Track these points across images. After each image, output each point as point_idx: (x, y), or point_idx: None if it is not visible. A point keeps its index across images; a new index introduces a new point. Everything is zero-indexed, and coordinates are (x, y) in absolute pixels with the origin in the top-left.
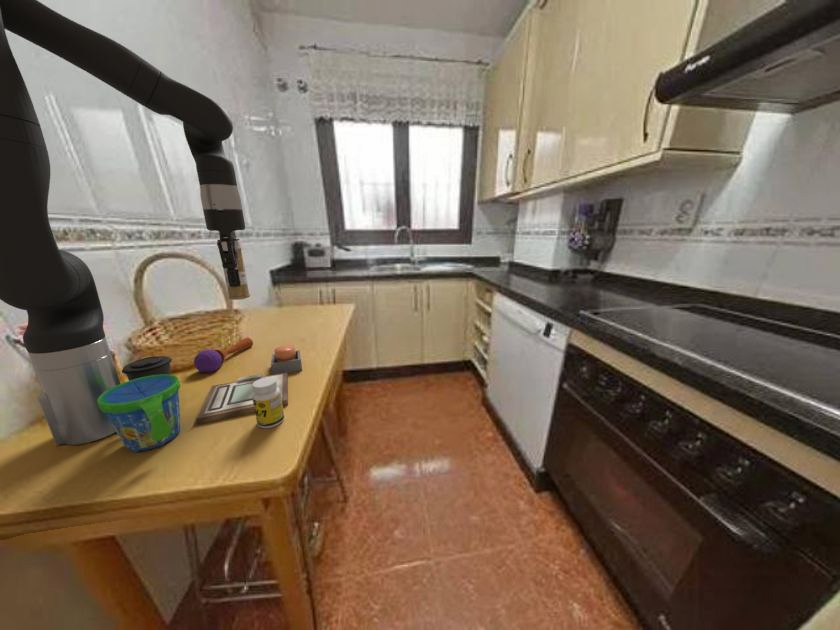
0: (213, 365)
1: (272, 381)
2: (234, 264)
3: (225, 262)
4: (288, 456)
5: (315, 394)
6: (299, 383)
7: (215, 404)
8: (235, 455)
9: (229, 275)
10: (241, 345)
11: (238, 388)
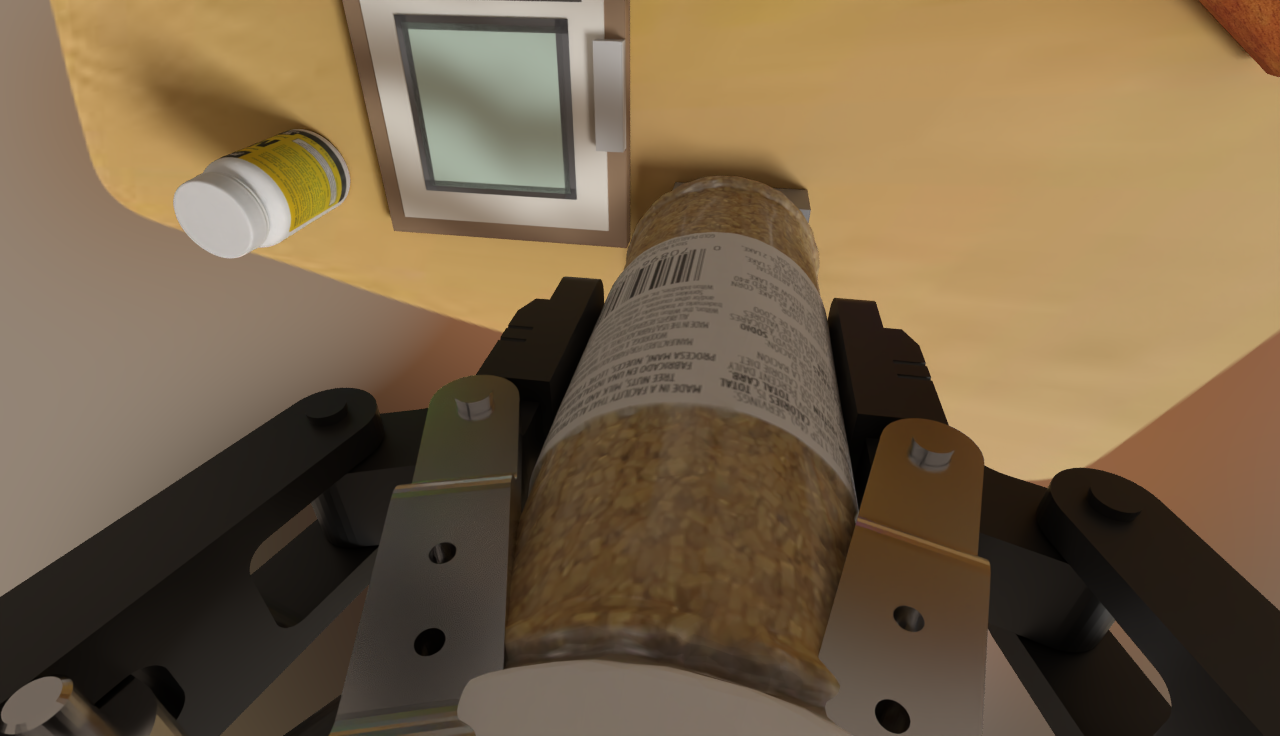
0: None
1: (215, 247)
2: (318, 533)
3: (336, 476)
4: (160, 205)
5: (451, 307)
6: (551, 273)
7: None
8: (161, 71)
9: (485, 363)
10: (1214, 3)
11: (528, 48)
